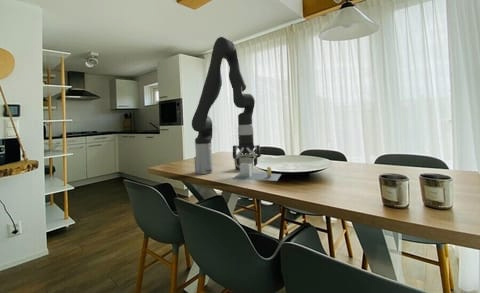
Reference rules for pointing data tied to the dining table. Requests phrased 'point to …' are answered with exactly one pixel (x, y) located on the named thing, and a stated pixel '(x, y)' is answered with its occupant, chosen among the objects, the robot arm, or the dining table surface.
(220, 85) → the robot arm
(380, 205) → the dining table surface
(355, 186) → the dining table surface
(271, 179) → the board
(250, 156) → the food container
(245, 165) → the white block
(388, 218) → the dining table surface
